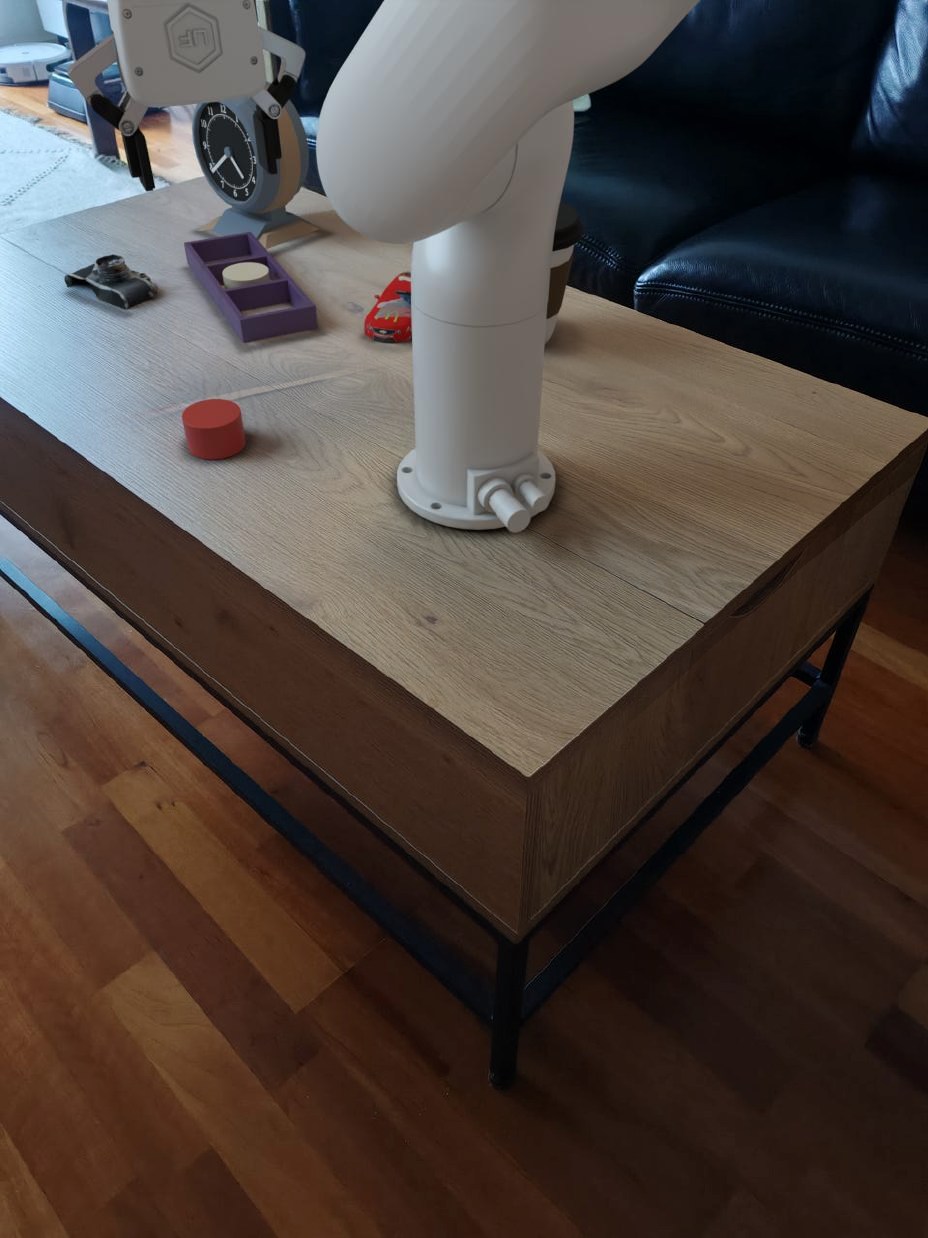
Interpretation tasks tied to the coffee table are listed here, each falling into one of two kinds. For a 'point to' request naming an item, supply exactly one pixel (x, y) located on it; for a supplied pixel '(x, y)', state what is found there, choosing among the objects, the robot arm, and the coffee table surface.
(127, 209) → the coffee table surface
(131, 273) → the camera
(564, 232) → the coffee cup
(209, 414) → the cylinder
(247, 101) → the alarm clock
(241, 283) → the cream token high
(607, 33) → the robot arm
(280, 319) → the board
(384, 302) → the race car
